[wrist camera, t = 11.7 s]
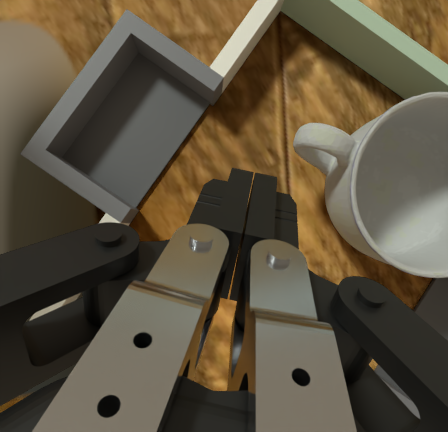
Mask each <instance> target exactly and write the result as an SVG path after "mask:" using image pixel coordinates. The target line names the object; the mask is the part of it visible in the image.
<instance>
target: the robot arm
mask: <svg viewBox="0 0 448 432" xmlns="http://www.w3.org/2000/svg"><path fill="white" fill-rule="evenodd" d="M252 178H253V172H250V171H245V170H240V169H235V168H232V170H231V173H230V176H229V179H228V182H227V181H222V180H217V179H212V180H211V181H209V182H208V183H206V184H205V185H204V186H203V189H202V191H201V193H200V195H199V198H198V200H197V202H196V205H195V207H194V209H193V212H192V214H191V216H190V219H189V221H188V223H187V225H185V226H182V227H180V228H179V229H178V230H176V232H175V233H174V234H173V236H172V238H171V239H169V240H165V241H155V242H139V235H138V233H137V232H136V231H135V230H134V229H133V228H131V227H129V226H127V225H125V224H121V223H115V222H104V223H98V224H95V225H91V226H88V227H85V228H83V229H79V230H76V231H73V232H70V233H67V234H64V235H60V236H57V237H54V238H51V239H48V240H44V241H41V242H38V243H35V244H32V245H29V246H26V247H22V248H20V249H16V250H13V251H10V252H7V253H4V254H1V255H0V406H1V405H3V404H5V403H6V402H8V401H10V400H12V399H13V398H15V397H17V396H19V395H20V394H22V393H24V392H26V391H28V390H29V389H31V388H33V387H34V386H36V385H38V384H40V383H42V382H44V381H45V380H47V379H49V378H51V377H52V376H54V375H56V374H58V373H59V372H61V371H63V370H65V369H66V368H68V367H70V366H72V365H73V364H75V363H77V362H78V363H77V364H76V366H75V367H74V369H73V370H72V372H71V373H70V375H69V376H68V377H65V378H62V379H60V380H57V381H55V382H53V383H51V384H49V385H47V386H45V387H43V388H41V389H39V390H38V391H36V392H34V393H32V394H31V395H29V396H28V397H26V398H24V399H23V400H21V401H19V402H18V403H16V404H14V405H13V406H11V407H9V408H8V409H6V410H5V411H3V412H1V413H0V432H448V340H446V339H445V338H444V337H443V336H442V335H441V334H439V333H438V332H437V331H436V330H435V329H434V328H432V327H431V326H430V325H429V324H428V323H427V322H425V321H424V320H423V319H422V318H421V317H420V316H418V315H417V314H416V313H415V312H414V311H413V310H411V309H410V308H409V307H408V306H407V305H406V304H404V303H403V302H402V301H401V300H400V299H399V298H397V297H396V296H395V295H394V294H393V293H392V292H390V291H389V290H388V289H387V288H385V287H384V286H383V285H381V284H379V283H377V282H376V281H373V280H371V279H368V278H364V277H358V276H352V277H347V278H345V279H343V280H342V281H341V282H340V284H339V285H336V284H334V283H332V282H330V281H328V280H326V279H323V278H321V277H319V276H318V275H316V274H314V273H313V272H312V271H310V270H309V269H308V267H307V262H306V258H305V257H304V255H303V254H302V252H301V251H299V246H298V226H297V206H296V203H295V202H294V200H293V199H292V197H291V196H290V195H288V194H284V193H279V192H276V188H277V177H274V176H269V175H264V174H260V173H255V176H254V180H253V185H252V189H251V183H252ZM250 189H251V193H250ZM249 194H250V198H249ZM248 199H249V202H248ZM247 205H248V206H247ZM246 210H247V211H246ZM239 245H240V246H239ZM238 250H239V251H238ZM237 254H238V256H237ZM236 258H237V262H236ZM235 263H236V267H235ZM234 267H235V273H234V278H233V283H232V289H231V294H230V300H234V301H237V305H236V311H235V315H234V319H233V322H232V332H231V346H230V360H229V374H228V387H227V391H213V390H210V389H207V388H206V387H204V386H202V385H200V384H198V383H196V382H194V378H195V375H196V372H197V369H198V366H199V363H200V359H201V356H202V353H203V350H204V347H205V344H206V341H207V338H208V335H209V332H210V329H211V326H212V322H213V318H214V314H215V313H216V312H217V310H218V307H219V302H220V298H225V299H227V298H228V293H229V289H230V284H231V280H232V276H233V271H234ZM81 292H82V295H83V297H82V298H79V299H77V300H75V301H73V302H71V303H68V304H66V305H64V306H62V307H59V308H57V309H55V310H53V311H50V312H48V313H46V314H44V315H41V316H39V317H37V318H35V319H33V320H30V321H28V322H26V320H27V319H28V318H29V317H30V316H32V315H33V314H35V313H36V312H38V311H40V310H42V309H45V308H47V307H49V306H52V305H54V304H56V303H58V302H61V301H63V300H65V299H68V298H70V297H72V296H74V295H77V294H79V293H81ZM25 322H26V323H25ZM372 359H374V360H375V361H376V363H377V364H378V365H379V366H380V367H381V368H382V369H383V370H384V371H385V372H386V373H387V374H388V375H389V376H390V377H391V379H392V380H393V381H394V382H395V383H396V384H397V385H398V386H399V387H400V388H401V389H402V390H403V391H404V392H405V393H406V395H407V396H408V397H409V398H410V399H411V400H412V401H413V403H414V404H415V406H416V407H417V409H418V412H419V415H420V419H419V418H418V417H416V416H415V415H414V414H413V413H412V412H411V411H410V410H409V409H408V408H407V406H406V405H405V404H404V403H403V402H402V401H401V400H400V399H399V398H398V397H397V395H396V394H395V393H394V392H393V391H392V390H391V389H390V388H389V387H388V386H387V385H386V383H385V382H384V381H383V380H382V379H381V378H380V377H379V376H378V375H377V374H376V372H375V371H374V370H373V369H372V368H371V367H370V366H369V363H370V362H371V360H372Z"/></svg>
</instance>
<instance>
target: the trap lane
mask: <svg viewBox="0 0 448 432" xmlns="http://www.w3.org/2000/svg"><path fill="white" fill-rule="evenodd" d="M280 11H282V12H283V13H284V14H286V15H287V16H289V17H290V18H291V19H293V20H294V21H296V22H297V23H298V24H300V25H301V26H303V27H304V28H305V29H307V30H308V31H310V32H311V33H312V34H314V35H315V36H317V37H318V38H319V39H321V40H322V41H324V42H325V43H326V44H328V45H329V46H331V47H332V48H333V49H335V50H336V51H338V52H339V53H340V54H342V55H343V56H345V57H346V58H347V59H349V60H350V61H352V62H353V63H354V64H356V65H357V66H359V67H360V68H361V69H363V70H364V71H366V72H367V73H368V74H370V75H371V76H373V77H374V78H375V79H377V80H378V81H380V82H381V83H382V84H384V85H385V86H387V87H388V88H389V89H391V90H392V91H394V92H395V93H396V94H398V95H399V96H401V97H402V98H403V99H405V100H406V99H408V98H411V97H413V96H418V95H422V94H425V93H429V92H448V65H447V64H446V63H444V62H443V61H442V60H440V59H439V58H437V57H436V56H435V55H433V54H432V53H430V52H429V51H428V50H426V49H425V48H424V47H422V46H421V45H419V44H418V43H417V42H415V41H414V40H412V39H411V38H410V37H408V36H407V35H405V34H404V33H403V32H401V31H400V30H399V29H397V28H396V27H394V26H393V25H392V24H390V23H389V22H387V21H386V20H385V19H383V18H382V17H380V16H379V15H378V14H376V13H375V12H374V11H372V10H371V9H369V8H368V7H367V6H365V5H364V4H362V3H361V2H360V1H358V0H257V2H256V3H255V5H254V6H253V7H252V9H251V10H250V12H249V13H248V14H247V16H246V17H245V19H244V20H243V21H242V23H241V24H240V26H239V27H238V28H237V30H236V31H235V33H234V34H233V35H232V37H231V38H230V40H229V41H228V42H227V44H226V45H225V47H224V48H223V49H222V51H221V52H220V54H219V55H218V56H217V58H216V59H215V61H214V62H213V63H212V65H211V66H210V67H208V66H207V65H205V64H204V63H202V62H201V61H200V60H198V59H197V58H195V57H194V56H193V55H191V54H190V53H188V52H187V51H185V50H184V49H183V48H181V47H180V46H178V45H177V44H175V43H174V42H173V41H171V40H170V39H168V38H167V37H166V36H164V35H163V34H161V33H160V32H158V31H157V30H156V29H154V28H153V27H151V26H150V25H149V24H147V23H146V22H144V21H143V20H141V19H140V18H139V17H137V16H136V15H134V14H133V13H131V12H130V11H129V10H126V11H125V12H124V14H123V15H122V16H121V18H120V19H119V20H118V22H117V23H116V24H115V26H114V27H113V29H112V30H111V31H110V33H109V34H108V35H107V37H106V38H105V39H104V41H103V42H102V43H101V45H100V46H99V48H98V49H97V50H96V52H95V53H94V54H93V56H92V57H91V58H90V60H89V61H88V62H87V64H86V65H85V67H84V68H83V69H82V71H81V72H80V73H79V75H78V76H77V77H76V79H75V80H74V81H73V83H72V84H71V86H70V87H69V88H68V90H67V91H66V92H65V94H64V95H63V96H62V98H61V99H60V101H59V102H58V103H57V105H56V106H55V107H54V109H53V110H52V111H51V113H50V114H49V115H48V117H47V118H46V119H45V121H44V122H43V123H42V125H41V127H40V128H39V129H38V130H37V132H36V133H35V134H34V136H33V137H32V139H31V140H30V141H29V143H28V144H27V145H26V147H25V148H24V149H23V151H22V152H21V153H20V154H21V155H22V156H24V157H25V158H27V159H28V160H30V161H31V162H33V163H34V164H35V165H37V166H38V167H40V168H41V169H43V170H44V171H46V172H47V173H49V174H50V175H52V176H53V177H54V178H56V179H57V180H59V181H60V182H62V183H63V184H65V185H66V186H68V187H69V188H71V189H72V190H73V191H75V192H76V193H78V194H79V195H81V196H82V197H84V198H85V199H87V200H88V201H89V202H91V203H92V204H94V205H95V206H97V207H98V208H100V209H101V210H103V211H104V212H106V214H105V215H104V216H103V218H102V219H101V221H100V222H99V223H104V222H115V223H121V224H125V225H127V226H129V224H130V223H131V222H132V220H133V219H134V217H135V216H136V214H137V213H138V212H139V210H138V209H137V206H138V205H139V203H140V202H141V201H142V199H143V198H144V196H145V195H146V194H147V192H148V191H149V189H150V188H151V186H152V185H153V184H154V182H155V181H156V179H157V178H158V177H159V175H160V174H161V172H162V171H163V170H164V168H165V167H166V165H167V164H168V162H169V161H170V160H171V158H172V157H173V155H174V154H175V153H176V151H177V150H178V148H179V147H180V146H181V144H182V143H183V141H184V140H185V138H186V137H187V136H188V134H189V133H190V131H191V130H192V129H193V127H194V126H195V124H196V123H197V122H198V120H199V119H200V117H201V116H202V114H203V113H204V112H205V110H206V109H207V107H208V106H209V105H210V104H211V105H212V106H214V104H215V103H216V101H217V100H218V98H219V97H220V96H221V94H222V93H223V91H224V90H225V89H226V87H227V86H228V84H229V83H230V81H231V80H232V79H233V77H234V76H235V74H236V73H237V72H238V70H239V69H240V67H241V66H242V65H243V63H244V62H245V60H246V59H247V57H248V56H249V55H250V53H251V52H252V50H253V49H254V48H255V46H256V45H257V43H258V42H259V40H260V39H261V38H262V36H263V35H264V33H265V32H266V31H267V29H268V28H269V26H270V25H271V23H272V22H273V21H274V19H275V18H276V16H277V15H278V14H279V12H280ZM80 294H81V293H79V294H77V295H74V296H72V297H70V298H68V299H65V300H63V301H61V302H58V303H56V304H54V305H52V306H49V307H47V308H45V309H42V310H40V311H38V312H36V313H35V314H34V315H33V316H32V317H31V319H30V320H33V319H35V318H37V317H39V316H41V315H44V314H46V313H48V312H50V311H53V310H55V309H57V308H59V307H62V306H64V305H66V304H68V303H71V302H73V301H75V300H76V299H77V298H78V296H79V295H80ZM413 311H414V312H415V313H416V314H417V315H418V316H420V317H421V318H422V319H423V320H424V321H425V322H427V323H428V324H429V325H430V326H431V327H432V328H434V329H435V330H436V331H437V332H438V333H439V334H441V335H442V336H443V337H444V338H445V339H446V340H448V278H434V279H433V280H432V282H431V283H430V285H429V287H428V288H427V290H426V291H425V293H424V294H423V296H422V297H421V299H420V301H419V302H418V304H417V305H416V307H415V308H414V310H413ZM30 320H29V321H30ZM375 372H376V374H377V375H378V376H379V377H380V378H381V379H382V380H383V381H384V382H385V383H386V385H387V386H388V387H389V388H390V389H391V390H392V391H393V392H394V393H395V394H396V395H397V397H398V398H399V399H400V400H401V401H402V402H403V403H404V404H405V405H406V406H407V408H408V409H409V410H410V411H411V412H412V413H413V414H414V415H415V416H416V417H418V418H419V419H420V415H419V412H418V409H417V407H416V406H415V404H414V403H413V401H412V400H411V399H410V398H409V397H408V396H407V395H406V393H405V392H404V391H403V390H402V389H401V388H400V387H399V386H398V385H397V384H396V383H395V382H394V381H393V380H392V379H391V377H390V376H389V375H388V374H387V373H386V372H385V371H384V370H383V369H382V368H381V367H380V366H379V365H378V366H377V367H376V369H375Z"/></svg>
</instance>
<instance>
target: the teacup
mask: <svg viewBox="0 0 448 432" xmlns="http://www.w3.org/2000/svg"><path fill="white" fill-rule="evenodd" d="M293 147H294V150H295V152H296V153H297V154H298V155H299V156H300V157H301V158H303V159H304V160H306V161H307V162H309V163H310V164H312V165H313V166H315V167H317V168H318V169H320V171H321V172H322V173H324V174H326V181H325V202H326V207H327V211H328V214H329V216H330V219H331V221H332V223H333V225H334V226H335V228H336V230H337V231H338V232H339V234H340V235H341V236H342V237H343V238H344V239H345V240H346V241H347V242H348V243H349V244H350V245H351V246H353V247H354V248H355V249H357V250H358V251H360V252H362V253H363V254H365V255H367V256H369V257H371V258H374V259H376V260H378V261H381V262H383V263H386V264H389V265H392V266H393V267H395V268H397V269H399V270H401V271H404V272H406V273H409V274H412V275H416V276H422V277H427V278H448V92H429V93H425V94H422V95H418V96H413V97H411V98H408V99H406V100H404V101H402V102H400V103H398V104H396V105H394V106H393V107H391V108H390V109H388V110H387V111H386V112H385V113H384V114H382V115H381V116H379V117H377V118H375V119H374V120H372V121H370V122H368V123H367V124H365V125H364V126H362V127H361V128H359V129H358V130H357V131H355V132H354V133H353V134H352V135H351V136H350V135H348V134H347V133H345V132H344V131H342V130H340V129H338V128H336V127H333V126H330V125H326V124H321V123H308V124H306V125H303V126H301V127H300V128H299V130H298V131H297V133H296V136H295V139H294V143H293Z"/></svg>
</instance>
